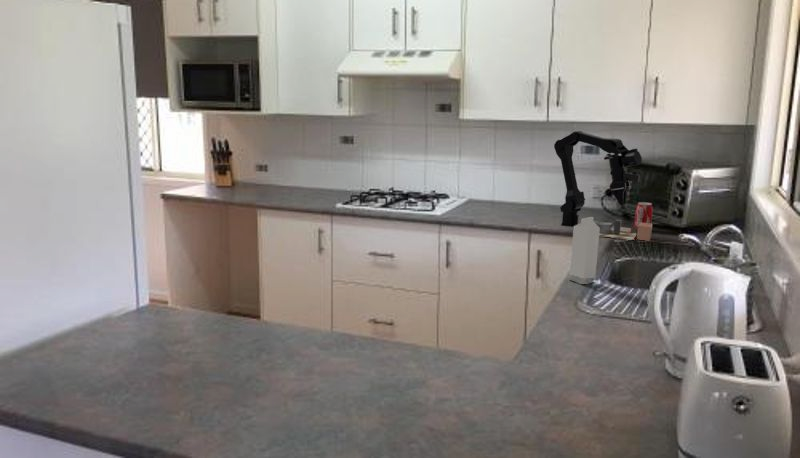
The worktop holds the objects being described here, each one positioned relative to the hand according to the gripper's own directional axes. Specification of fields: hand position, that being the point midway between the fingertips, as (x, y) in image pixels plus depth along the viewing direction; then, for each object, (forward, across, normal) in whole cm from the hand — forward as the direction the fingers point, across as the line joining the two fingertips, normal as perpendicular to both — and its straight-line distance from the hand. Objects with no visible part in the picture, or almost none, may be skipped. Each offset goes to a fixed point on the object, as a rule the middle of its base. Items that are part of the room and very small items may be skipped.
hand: (623, 204), depth 289 cm
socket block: (+16, 0, -6) cm, 17 cm away
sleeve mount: (+12, 0, +8) cm, 15 cm away
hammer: (+11, -1, +8) cm, 13 cm away
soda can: (+13, +18, -4) cm, 23 cm away
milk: (+21, -73, +8) cm, 76 cm away
